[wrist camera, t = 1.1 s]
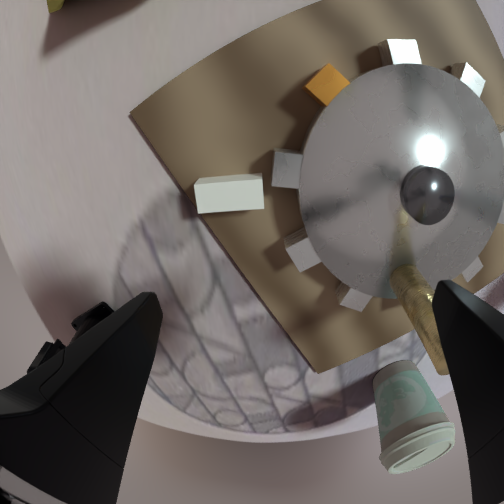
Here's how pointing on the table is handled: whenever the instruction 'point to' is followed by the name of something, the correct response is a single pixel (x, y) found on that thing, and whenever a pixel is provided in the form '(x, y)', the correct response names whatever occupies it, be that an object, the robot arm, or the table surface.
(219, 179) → the pale mint brick
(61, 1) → the plastic component
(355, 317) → the sprocket board
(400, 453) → the coffee cup
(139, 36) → the table surface
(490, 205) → the sprocket
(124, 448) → the robot arm
